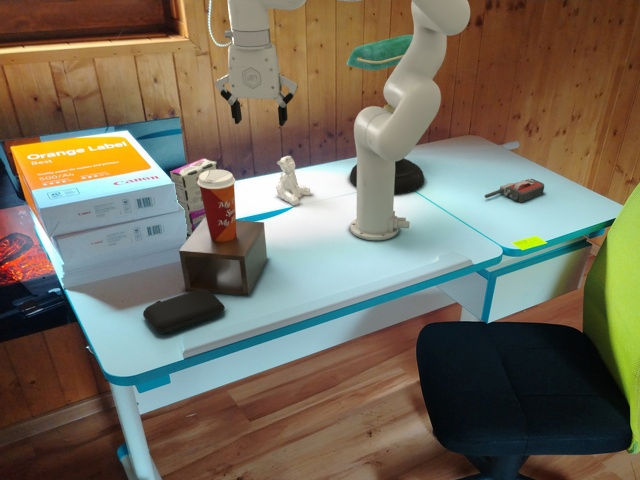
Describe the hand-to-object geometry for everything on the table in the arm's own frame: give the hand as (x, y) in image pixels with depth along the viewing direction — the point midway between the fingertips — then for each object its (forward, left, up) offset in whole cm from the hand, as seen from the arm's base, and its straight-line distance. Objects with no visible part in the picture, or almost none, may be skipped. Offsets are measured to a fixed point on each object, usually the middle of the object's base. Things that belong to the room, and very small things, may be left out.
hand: (260, 122), depth 135 cm
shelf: (+7, +13, -31) cm, 35 cm away
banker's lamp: (-24, -49, -32) cm, 63 cm away
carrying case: (+11, +30, -32) cm, 45 cm away
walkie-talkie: (-63, -44, -32) cm, 83 cm away
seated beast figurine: (+2, -31, -32) cm, 45 cm away
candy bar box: (+20, -9, -32) cm, 39 cm away
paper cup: (+7, +13, -22) cm, 26 cm away
